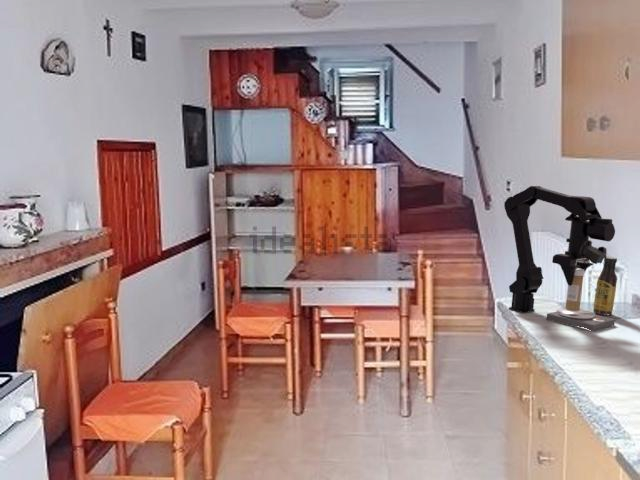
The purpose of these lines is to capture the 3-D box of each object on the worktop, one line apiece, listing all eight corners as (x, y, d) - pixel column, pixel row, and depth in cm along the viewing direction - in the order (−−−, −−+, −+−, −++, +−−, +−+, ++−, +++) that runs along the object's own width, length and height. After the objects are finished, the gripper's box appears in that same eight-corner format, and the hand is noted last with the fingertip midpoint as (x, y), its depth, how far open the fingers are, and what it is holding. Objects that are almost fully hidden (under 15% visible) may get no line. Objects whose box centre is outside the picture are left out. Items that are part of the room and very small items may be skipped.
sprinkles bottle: (582, 311, 224) (587, 269, 222) (573, 312, 222) (578, 270, 220) (571, 307, 228) (575, 266, 226) (561, 308, 226) (566, 267, 223)
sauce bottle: (588, 312, 243) (595, 255, 240) (601, 311, 246) (607, 255, 243) (604, 316, 238) (610, 259, 235) (617, 315, 240) (623, 258, 238)
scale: (546, 319, 229) (547, 312, 229) (568, 314, 238) (569, 307, 238) (592, 331, 217) (593, 323, 217) (614, 325, 227) (615, 317, 226)
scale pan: (549, 313, 230) (549, 310, 230) (568, 309, 237) (568, 306, 237) (582, 321, 221) (582, 318, 221) (600, 316, 229) (601, 313, 228)
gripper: (587, 242, 210) (581, 293, 212) (618, 238, 221) (612, 287, 224) (554, 236, 218) (548, 285, 220) (586, 233, 230) (580, 280, 232)
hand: (573, 284), depth 224 cm, fingers closed on sprinkles bottle, 4 cm apart
